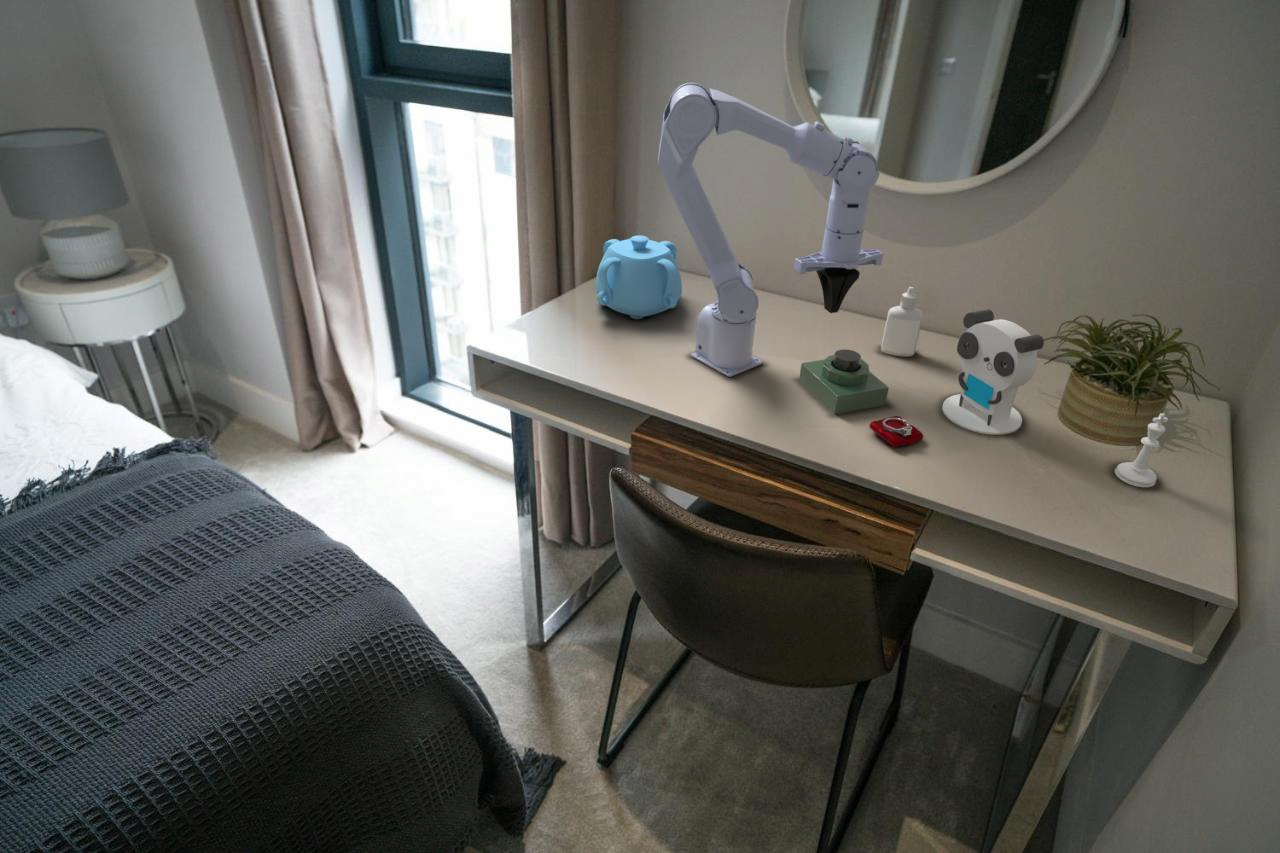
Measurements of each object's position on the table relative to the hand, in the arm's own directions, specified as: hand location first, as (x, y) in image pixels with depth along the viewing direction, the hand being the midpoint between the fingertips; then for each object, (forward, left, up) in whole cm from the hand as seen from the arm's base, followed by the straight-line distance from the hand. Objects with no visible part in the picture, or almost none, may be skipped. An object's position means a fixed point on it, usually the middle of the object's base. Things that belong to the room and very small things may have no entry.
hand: (831, 310), depth 127 cm
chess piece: (+47, +9, -10) cm, 49 cm away
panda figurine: (+25, +7, -10) cm, 28 cm away
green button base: (+8, -5, -10) cm, 14 cm away
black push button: (+8, -5, -5) cm, 11 cm away
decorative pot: (-37, -10, -10) cm, 40 cm away
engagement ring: (+21, -9, -10) cm, 25 cm away
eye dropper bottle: (+5, +14, -10) cm, 18 cm away
